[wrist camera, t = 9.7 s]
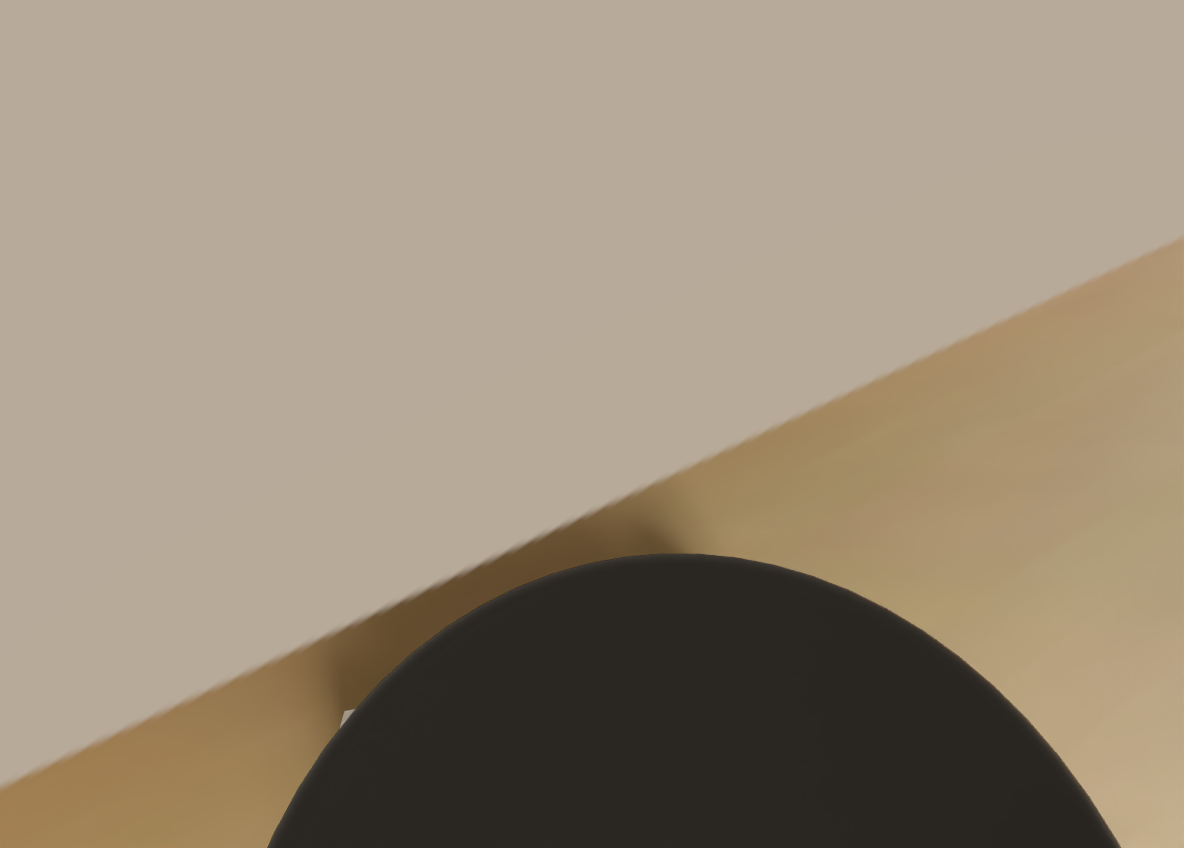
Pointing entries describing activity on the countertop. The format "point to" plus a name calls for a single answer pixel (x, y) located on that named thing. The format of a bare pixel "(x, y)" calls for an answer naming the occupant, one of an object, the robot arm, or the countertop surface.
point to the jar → (687, 727)
